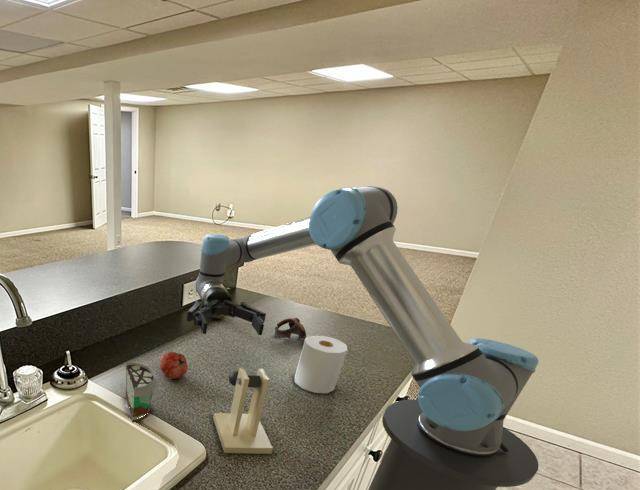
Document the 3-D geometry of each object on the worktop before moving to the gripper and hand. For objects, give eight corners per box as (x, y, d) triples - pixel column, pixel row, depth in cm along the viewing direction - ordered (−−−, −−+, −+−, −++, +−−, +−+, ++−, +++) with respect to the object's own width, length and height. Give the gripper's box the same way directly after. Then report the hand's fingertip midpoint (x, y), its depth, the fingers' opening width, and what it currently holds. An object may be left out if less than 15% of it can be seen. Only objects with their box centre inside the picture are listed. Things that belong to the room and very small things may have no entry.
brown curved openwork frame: (306, 350, 127) (298, 329, 124) (276, 354, 133) (268, 335, 130) (311, 328, 135) (304, 308, 131) (283, 333, 141) (275, 314, 137)
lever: (226, 385, 95) (227, 370, 95) (241, 385, 95) (242, 370, 95) (245, 390, 81) (246, 372, 81) (263, 390, 81) (263, 372, 81)
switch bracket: (213, 418, 94) (223, 358, 86) (255, 419, 94) (269, 360, 86) (224, 452, 84) (236, 389, 76) (271, 453, 84) (289, 390, 76)
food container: (159, 424, 91) (163, 387, 86) (133, 426, 90) (135, 389, 85) (148, 394, 102) (151, 360, 97) (124, 396, 101) (125, 361, 96)
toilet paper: (292, 387, 107) (303, 347, 101) (296, 370, 115) (306, 332, 109) (333, 397, 103) (347, 356, 97) (334, 379, 111) (347, 340, 105)
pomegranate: (154, 382, 111) (170, 377, 102) (151, 356, 112) (167, 348, 103) (178, 380, 114) (196, 375, 105) (175, 355, 115) (192, 348, 106)
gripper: (256, 312, 117) (281, 344, 99) (171, 310, 117) (180, 342, 98) (261, 287, 114) (288, 315, 95) (173, 285, 113) (183, 313, 95)
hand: (233, 329), depth 97 cm, fingers open, 13 cm apart
